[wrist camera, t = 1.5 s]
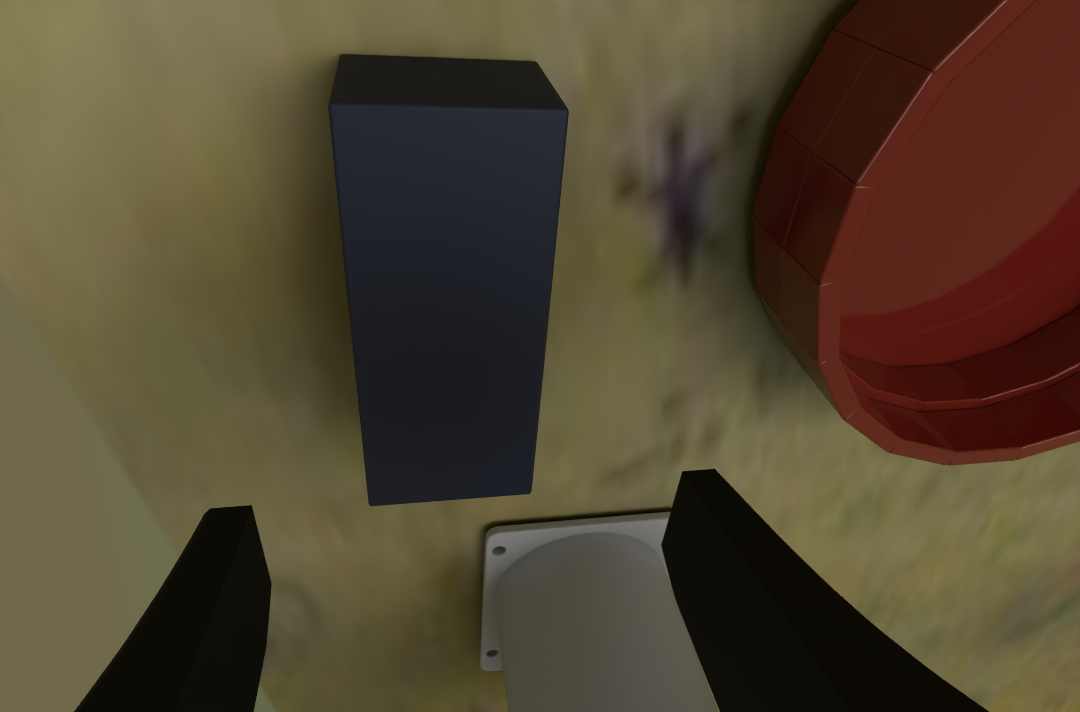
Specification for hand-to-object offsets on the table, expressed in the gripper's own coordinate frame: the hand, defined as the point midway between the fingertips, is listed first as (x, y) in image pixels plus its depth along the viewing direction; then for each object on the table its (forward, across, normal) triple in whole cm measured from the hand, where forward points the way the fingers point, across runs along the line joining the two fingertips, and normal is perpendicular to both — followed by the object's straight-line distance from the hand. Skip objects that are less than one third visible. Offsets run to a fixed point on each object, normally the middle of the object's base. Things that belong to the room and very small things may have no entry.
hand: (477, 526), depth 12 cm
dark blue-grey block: (+10, 0, 0) cm, 10 cm away
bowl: (+9, -16, -3) cm, 19 cm away
